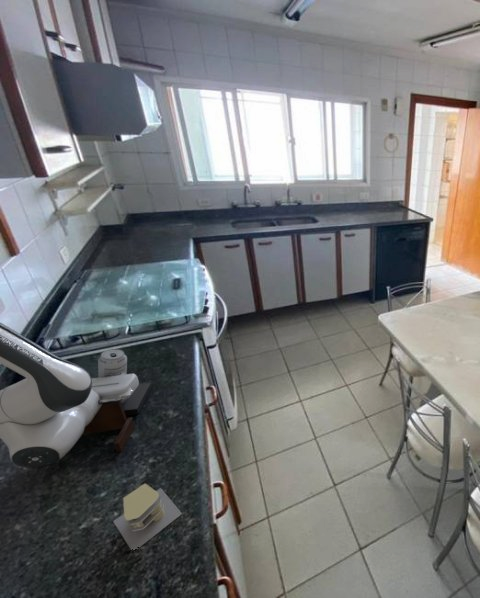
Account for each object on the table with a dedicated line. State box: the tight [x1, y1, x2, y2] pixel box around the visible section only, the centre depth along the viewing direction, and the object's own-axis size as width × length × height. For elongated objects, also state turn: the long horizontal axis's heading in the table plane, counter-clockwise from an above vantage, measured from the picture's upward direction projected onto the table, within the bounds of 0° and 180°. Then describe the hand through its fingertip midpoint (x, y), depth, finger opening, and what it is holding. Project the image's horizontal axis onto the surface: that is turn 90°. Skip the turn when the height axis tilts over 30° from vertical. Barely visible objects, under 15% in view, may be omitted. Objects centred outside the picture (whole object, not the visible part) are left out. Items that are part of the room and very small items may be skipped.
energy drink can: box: [97, 348, 128, 378], centre depth 93 cm, size 6×6×15 cm
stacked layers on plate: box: [112, 483, 183, 551], centre depth 68 cm, size 10×9×6 cm
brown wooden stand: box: [81, 401, 136, 453], centre depth 82 cm, size 17×10×9 cm, turn 109°
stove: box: [120, 381, 153, 417], centre depth 96 cm, size 16×12×4 cm
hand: (102, 372), depth 93 cm, fingers open, 8 cm apart
